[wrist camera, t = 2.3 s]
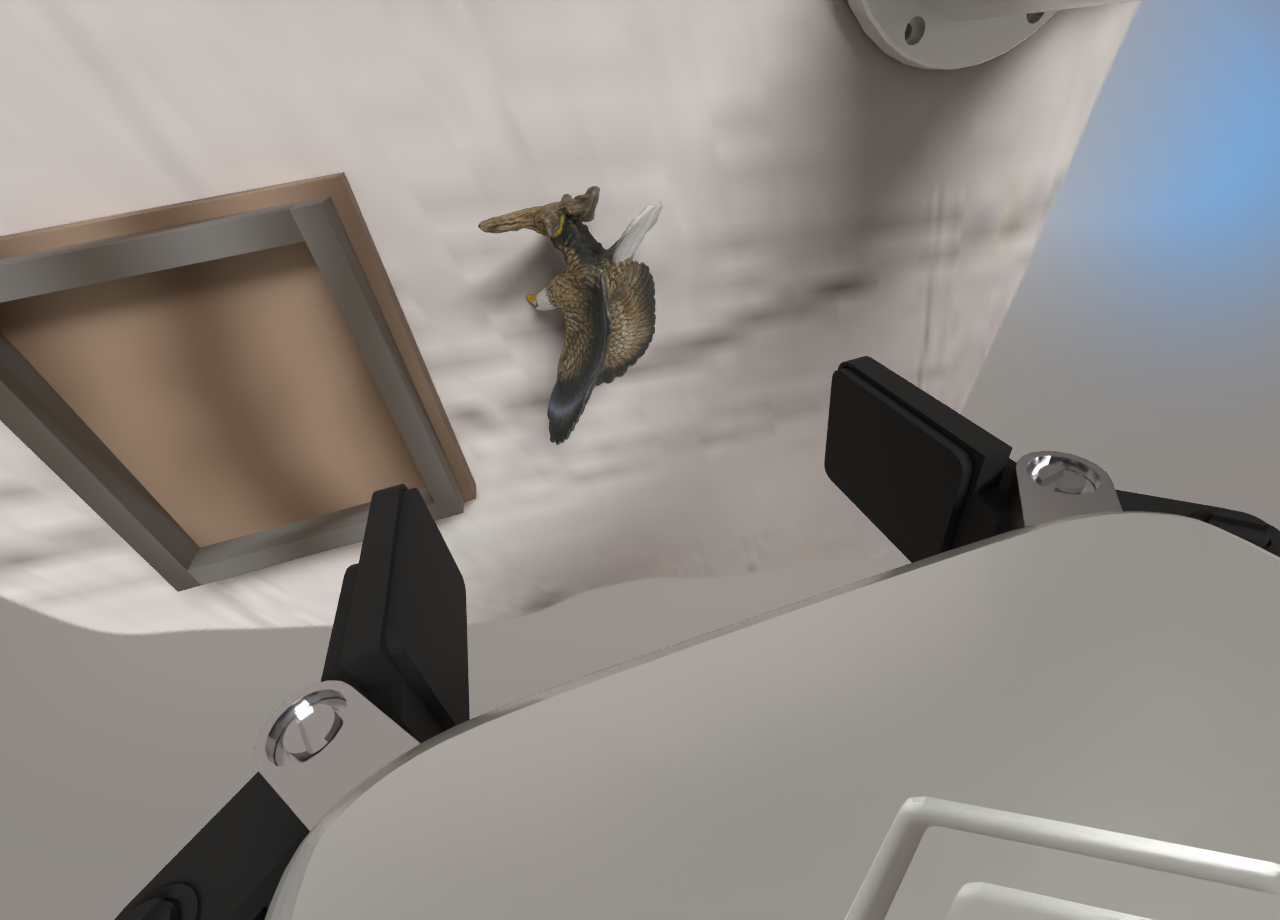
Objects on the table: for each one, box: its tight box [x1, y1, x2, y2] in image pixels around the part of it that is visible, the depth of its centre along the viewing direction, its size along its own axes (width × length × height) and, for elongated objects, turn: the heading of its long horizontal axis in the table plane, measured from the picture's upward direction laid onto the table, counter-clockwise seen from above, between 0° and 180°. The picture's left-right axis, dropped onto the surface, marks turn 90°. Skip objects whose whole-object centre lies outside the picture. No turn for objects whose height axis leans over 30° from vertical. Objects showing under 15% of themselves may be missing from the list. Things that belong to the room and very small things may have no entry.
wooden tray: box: [0, 173, 476, 591], centre depth 22 cm, size 14×15×3 cm
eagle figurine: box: [478, 186, 662, 445], centre depth 22 cm, size 8×7×9 cm
